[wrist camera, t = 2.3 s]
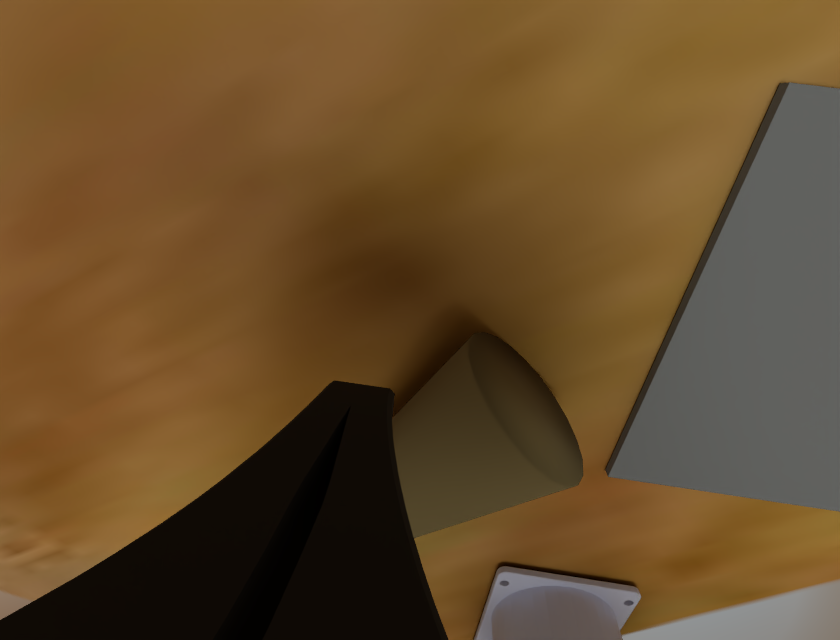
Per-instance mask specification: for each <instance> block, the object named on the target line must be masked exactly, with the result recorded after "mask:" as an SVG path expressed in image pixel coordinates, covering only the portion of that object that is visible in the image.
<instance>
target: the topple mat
mask: <svg viewBox="0 0 840 640" xmlns="http://www.w3.org/2000/svg"><path fill="white" fill-rule="evenodd" d="M606 473H607V475H608V477H614V478H620V479H627V480H634V481H640V482H647V483H654V484H660V485H667V486H673V487H680V488H687V489H693V490H700V491H707V492H713V493H720V494H727V495H733V496H740V497H747V498H753V499H760V500H767V501H773V502H780V503H787V504H793V505H800V506H807V507H813V508H820V509H827V510H833V511H840V89H837V88H829V87H821V86H813V85H805V84H797V83H780V85H779V87H778V89H777V91H776V93H775V96H774V98H773V100H772V102H771V104H770V107H769V109H768V111H767V113H766V116H765V118H764V120H763V122H762V124H761V127H760V129H759V131H758V133H757V135H756V138H755V140H754V142H753V144H752V147H751V149H750V151H749V153H748V155H747V158H746V160H745V162H744V164H743V166H742V169H741V171H740V173H739V175H738V178H737V180H736V182H735V184H734V186H733V189H732V191H731V193H730V195H729V197H728V200H727V202H726V204H725V206H724V209H723V211H722V213H721V215H720V217H719V220H718V222H717V224H716V226H715V228H714V231H713V233H712V235H711V237H710V240H709V242H708V244H707V246H706V248H705V251H704V253H703V255H702V257H701V259H700V262H699V264H698V266H697V268H696V271H695V273H694V275H693V277H692V279H691V282H690V284H689V286H688V288H687V290H686V293H685V295H684V297H683V299H682V302H681V304H680V306H679V308H678V310H677V313H676V315H675V317H674V319H673V321H672V324H671V326H670V328H669V330H668V332H667V335H666V337H665V339H664V341H663V344H662V346H661V348H660V350H659V352H658V355H657V357H656V359H655V361H654V363H653V366H652V368H651V370H650V372H649V375H648V377H647V379H646V381H645V383H644V386H643V388H642V390H641V392H640V394H639V397H638V399H637V401H636V403H635V406H634V408H633V410H632V412H631V414H630V417H629V419H628V421H627V423H626V425H625V428H624V430H623V432H622V434H621V437H620V439H619V441H618V443H617V445H616V448H615V450H614V452H613V454H612V456H611V459H610V461H609V463H608V465H607V468H606Z"/></svg>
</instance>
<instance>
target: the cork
mask: <svg viewBox="0 0 840 640" xmlns="http://www.w3.org/2000/svg"><path fill="white" fill-rule="evenodd" d="M392 428H393V440H394V448H395V455H396V461H397V468H398V474H399V479H400V484H401V489H402V493H403V497H404V502H405V506H406V511H407V515H408V518H409V522H410V526H411V530H412V533H413V537H414V538H416V537H419V536H422V535H425V534H428V533H431V532H434V531H438V530H441V529H444V528H447V527H450V526H453V525H456V524H459V523H462V522H465V521H469V520H472V519H475V518H478V517H481V516H484V515H487V514H490V513H493V512H496V511H500V510H503V509H506V508H509V507H512V506H515V505H518V504H521V503H524V502H528V501H531V500H534V499H537V498H540V497H543V496H546V495H549V494H552V493H555V492H559V491H562V490H565V489H568V488H571V487H574V486H577V485H578V484H579V482H580V480H581V479H582V477H583V459H582V456H581V452H580V449H579V445H578V442H577V439H576V437H575V435H574V432H573V430H572V428H571V426H570V424H569V421H568V419H567V417H566V416H565V414H564V412H563V411H562V409H561V407H560V405H559V404H558V402H557V400H556V399H555V397H554V396H553V394H552V393H551V391H550V390H549V389H548V387H547V386H546V384H545V383H544V382H543V380H542V379H541V378H540V376H539V375H538V374H537V373H536V372H535V371H534V369H533V368H532V367H531V366H530V365H529V364H528V362H527V361H526V360H525V359H523V358H522V357H521V356H520V355H519V354H518V353H517V352H516V351H515V350H514V349H513V348H512V347H510V346H509V345H508V344H506V343H505V342H503V341H502V340H501V339H499V338H498V337H495V336H493V335H490V334H488V333H485V332H482V333H474V334H473V335H472V336H471V337H470V338H469V340H468V341H467V342H466V343H465V344H464V345H463V346H462V347H461V348H460V349H459V350H458V351H457V352H456V353H455V354H454V355H453V356H452V357H451V358H450V359H449V360H448V361H447V362H446V363H445V364H444V365H443V366H442V367H441V368H440V369H439V370H438V372H437V373H436V374H435V375H434V376H433V377H432V378H431V379H430V380H429V381H428V382H427V383H426V384H425V385H424V386H423V387H422V388H421V389H420V390H419V391H418V392H417V393H416V394H415V395H414V396H413V397H412V398H411V399H410V400H409V401H408V403H407V404H406V405H405V406H404V407H403V408H402V409H401V410H400V411H399V412H398V413H397V414H396V415H395V416H394V417H393V418H392Z"/></svg>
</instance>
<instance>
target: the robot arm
mask: <svg viewBox="0 0 840 640" xmlns="http://www.w3.org/2000/svg"><path fill="white" fill-rule="evenodd" d="M394 395H395V394H394V393H393V391H392V390H391V389H389V388H382V387H376V386H369V385H362V384H355V383H348V382H341V381H333V382H331V383H330V384H329V385H328V386H327V387H326V388H325V389H324V390H323V391H322V392H321V393H320V394H319V395H318V396H317V397H316V398H315V399H314V400H313V401H312V402H311V403H310V404H309V405H308V406H307V407H306V408H305V409H304V410H302V411H301V412H300V413H299V414H298V415H297V416H296V417H295V418H294V419H293V420H292V421H291V422H290V423H289V424H287V425H286V426H285V427H284V428H283V429H282V430H281V431H280V432H279V433H277V434H276V435H275V436H274V437H273V438H272V439H271V440H270V441H268V442H267V443H266V444H265V445H264V446H263V447H262V448H260V449H259V450H258V451H257V452H256V453H254V454H253V455H252V456H251V457H249V458H248V459H247V460H246V461H244V462H243V463H242V464H241V465H240V466H238V467H237V468H236V469H235V470H233V471H232V472H231V473H230V474H228V475H227V476H226V477H225V478H223V479H222V480H221V481H220V482H218V483H217V484H216V485H214V486H213V487H212V488H210V489H209V490H208V491H206V492H205V493H204V494H202V495H201V496H200V497H198V498H197V499H195V500H194V501H193V502H191V503H190V504H188V505H187V506H186V507H184V508H183V509H181V510H180V511H178V512H177V513H176V514H174V515H173V516H171V517H170V518H168V519H167V520H165V521H164V522H163V523H161V524H160V525H158V526H156V527H155V528H153V529H152V530H150V531H149V532H147V533H146V534H144V535H143V536H141V537H139V538H138V539H136V540H135V541H133V542H132V543H130V544H129V545H127V546H126V547H124V548H123V549H121V550H119V551H118V552H116V553H115V554H113V555H112V556H110V557H108V558H107V559H105V560H103V561H102V562H100V563H99V564H97V565H95V566H94V567H92V568H90V569H89V570H87V571H85V572H84V573H82V574H80V575H79V576H77V577H75V578H74V579H72V580H70V581H68V582H67V583H65V584H63V585H61V586H60V587H58V588H56V589H54V590H52V591H51V592H49V593H47V594H45V595H44V596H42V597H40V598H38V599H37V600H35V601H33V602H31V603H30V604H28V605H26V606H24V607H23V608H21V609H19V610H17V611H16V612H14V613H12V614H10V615H9V616H7V617H5V618H3V619H1V620H0V640H448V637H447V635H446V632H445V630H444V627H443V624H442V622H441V619H440V616H439V614H438V611H437V609H436V606H435V603H434V600H433V597H432V594H431V591H430V588H429V585H428V582H427V579H426V576H425V573H424V570H423V567H422V564H421V561H420V557H419V554H418V551H417V547H416V544H415V541H414V537H413V533H412V530H411V526H410V522H409V518H408V515H407V511H406V506H405V502H404V497H403V493H402V489H401V484H400V479H399V474H398V468H397V461H396V455H395V448H394V440H393V428H392V415H393V405H394ZM640 599H641V595H640V592H639V590H638V588H636V587H634V586H629V585H623V584H616V583H610V582H604V581H597V580H591V579H585V578H578V577H572V576H566V575H559V574H553V573H547V572H540V571H534V570H527V569H521V568H515V567H508V566H503V567H500V568H498V570H497V572H496V575H495V578H494V581H493V584H492V587H491V590H490V593H489V596H488V599H487V602H486V605H485V608H484V611H483V614H482V617H481V620H480V623H479V626H478V629H477V632H476V635H475V638H474V640H623V639H622V636H621V633H620V630H621V628H622V627H623V625H624V624H625V622H626V621H627V619H628V617H629V616H630V614H631V613H632V611H633V610H634V608H635V606H636V605H637V603H638V602H639V600H640Z"/></svg>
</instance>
